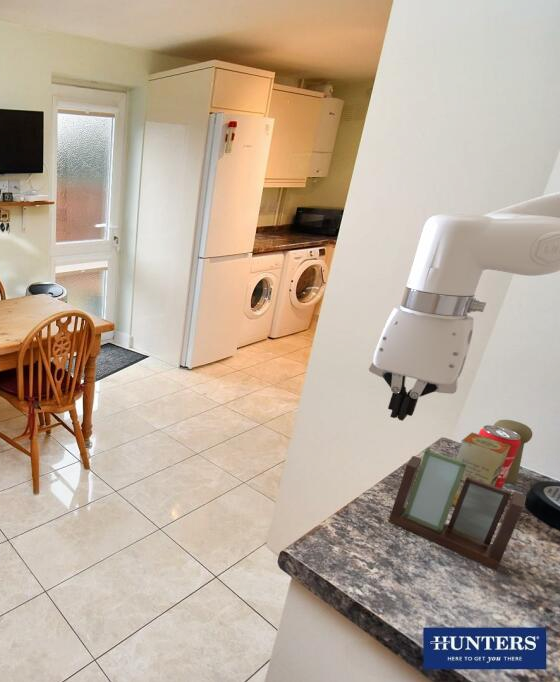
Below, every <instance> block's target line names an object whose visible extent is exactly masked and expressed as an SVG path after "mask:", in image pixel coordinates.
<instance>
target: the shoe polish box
mask: <svg viewBox="0 0 560 682" xmlns="http://www.w3.org/2000/svg"><path fill="white" fill-rule="evenodd" d="M478 434H479V433H476V432H473V431H472V432H470V433H469V434H468V435H467V436H465V437H464V438H462V440H461V442H460V445H459V448H458V451H457V453H456V455H455V459H457V460H460V461H462V462H465V463H467V465H466V468H465V471H464V473H463V476H462V479H461V481H460V484H459V487H458V489H457V492H456V495H455V497H454V500H453V503H452V505H453V506H454V507H455V506H456V503H457V501H458V498H459V495H460V493H461V490H462V487H463V485H464V482H465V479H466V477H470V478H472V479H475V480H478V481H481V482H484V483H486V484H489V485H492V486H495V483H496V481H497V478H498V476H499V473H500V471H501V468H502V466H503V463H504V461H505V458H506V456H507V453H508V451H509V448H510V446H511V445H508V444H505V443H502V442H499V441H496V440H493V439H490V438H487V437H484V436H481V435H478Z"/></svg>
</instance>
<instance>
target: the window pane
mask: <svg viewBox="0 0 560 682" xmlns="http://www.w3.org/2000/svg"><path fill="white" fill-rule="evenodd" d="M421 459H422V460H421V463H420V466H419V469H418V472H417V475H416V478H415V481H414V484H413V487H412V490H411V493H410V496H409V499H408V502H407V505H406V509H405V512H404V515H403V516H405V517H407V518H409V519H412V520H414V521H416V522H419V523H421V524H423V525H425V526H428V527H430V528H432V529H435V530H437V531H439V532H442V530H443V527H444V524H445V523H446V522H447V519H448V517H449V513H450V511H451V508H452V505H453V504H452V503H453V500H454V497H455V495H456V492H457V489H458V487H459V484H460V481H461V479H462V476H463V473H464V471H465V468H466V465H467V463H465V462H462V461H460V460H457V459H456V458H454V457H451V456H449V455H448V456H447V455H445V454H441V453H438V452H436V451H433V450H430V449H428V448H425V450H424V452H423V456H422V458H421Z"/></svg>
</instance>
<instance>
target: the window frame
mask: <svg viewBox="0 0 560 682" xmlns="http://www.w3.org/2000/svg"><path fill="white" fill-rule="evenodd" d="M421 461H422V458H421V457H418V456H415V455H412V456H411V457H410V459H409V461H408V462H407V463H406V465H405V469H404V472H403V475H402V478H401V481H400V483H399V487H398V490H397V493H396V496H395V499H394V503H393V505H392V509H391V512H390V515H389V518H388V523H391V524H392V525H395V526H398V527H400V528H402V529H404V530H406V531H408V532H410V533H413V534H415V535H417V536H419V537H421V538H424V539H426V540H428V541H430V542H433V543H435V544H437V545H439V546H441V547H444V548H446V549H448V550H451V551H452V552H455V553H456V554H459V555H460V556H463V557H466V558H468V559H470V560H471V561H474V562H477V563H478V564H481V565H483V566H486V567H488V568H490V569H492V570H494V571H497V570H498V568H499V566H500V563H501V561H502V559H503V556H504V554H505V552H506V549H507V548H508V545H509V543H510V541H511V539H512V536H513V533H514V531H515V529H516V527H517V524H518V522H519V520H520V518H521V515H522V513H523V511H524V508H525V504H526V498H527V495H525V494H523V493H520V492H517V491H514V492H513V494H512V492H511V491H508V490H505V489H504V488H502V489H500V488H498V487H495V486H492V485H489V484H486V483H484V482H481V481H478V480H475V479H472V478H470V477H466V479H465V482H464V485H463V487H462V490H461V493H460V495H459V498H458V501H457V503H456V506H455V505H454V509H453V512H452V514H451V517H450V519H449V522H448V524H444V527H443V530H442V532H439V531H437V530H435V529H432V528H430V527H428V526H425V525H423V524H421V523H419V522H416V521H414V520H412V519H409V518H407V517H405V516H403V515H404V512H405V509H406V506H407V503H408V500H409V497H410V494H411V491H412V488H413V485H414V482H415V479H416V476H417V473H418V470H419V467H420V464H421ZM511 494H512V496H511ZM510 497H511V499H510ZM509 500H510V501H509ZM508 501H509V504H508ZM507 504H508V505H507ZM506 507H507V508H506ZM505 508H506V510H505ZM504 511H505V513H504ZM503 513H504V516H503ZM502 516H503V518H502ZM501 518H502V520H501ZM500 521H501V522H500ZM499 523H500V525H499ZM498 526H499V528H498V530H497V527H498ZM496 530H497V532H496ZM495 533H496V535H495ZM494 535H495V537H494ZM493 537H494V539H493ZM492 539H493V541H492ZM491 542H492V543H491Z"/></svg>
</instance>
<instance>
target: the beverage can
mask: <svg viewBox="0 0 560 682" xmlns="http://www.w3.org/2000/svg"><path fill="white" fill-rule="evenodd" d="M477 434H478V435H481V436H484V437H487V438H490V439H493V440H496V441H499V442H502V443H505V444H508V445H511V446H510V448H509V451H508V453H507V456H506V458H505V461H504V463H503V466H502V468H501V471H500V473H499V476H498V478H497V481H496V483H495V487H498V488H500V489H503V487H504V484H505V483H506V482H505V480H506V477H507V475H508V472H509V470H510V468H511V465H512V463H513V460H514V458H515V455H516V453H517V451H518V448H519V446H520V443H521V441H520V436H519V435H518V434H517V433H515V432H513V431H511V430H508V429H506V428H502V427H498V426H493V425H491V424H488V425H487V424H486V425H484V426H483V427H482V428H480V430H479V433H477Z"/></svg>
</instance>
